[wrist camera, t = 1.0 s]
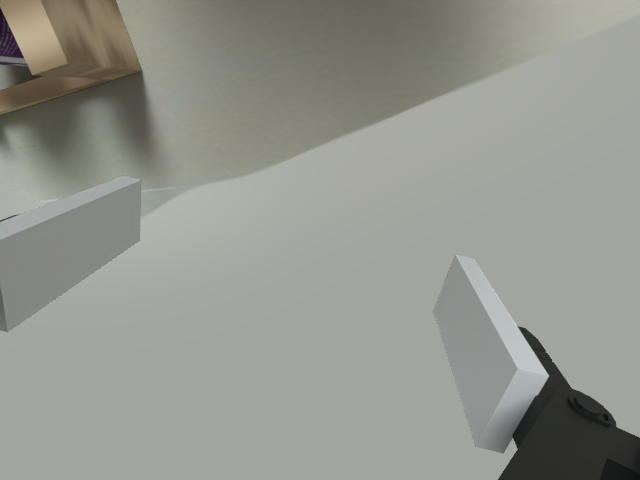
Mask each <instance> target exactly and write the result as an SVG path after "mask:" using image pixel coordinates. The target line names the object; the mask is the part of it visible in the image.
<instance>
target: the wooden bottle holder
mask: <svg viewBox="0 0 640 480" xmlns="http://www.w3.org/2000/svg"><path fill="white" fill-rule="evenodd" d="M0 8H1V10H2V12H3V14H4V16H5V18H6V20H7V22H8V25H9V27H10V29H11V31H12V33H13V35H14V37H15V39H16V42H17V44H18V46H19V48H20V50H21V52H22V54H23V56H24V59H25V61H26V63H27V65H28V67H29V69H30V71H31V74H32V75H39V76H42V77H39V78H36V79H33V80H30V81H27V82H24V83H21V84H18V85H15V86H12V87H9V88H6V89H3V90H0V115H2V114H5V113H8V112H11V111H15V110H18V109H21V108H24V107H27V106H31V105H34V104H37V103H40V102H43V101H47V100H50V99H53V98H56V97H59V96H63V95H66V94H69V93H72V92H76V91H79V90H82V89H85V88H88V87H92V86H95V85H98V84H101V83H104V82H108V81H111V80H114V79H117V78H120V77H124V76H127V75H130V74H133V73H136V72H140V71H142V70H141V67H140V64H139V62H138V59H137V56H136V54H135V51H134V48H133V46H132V43H131V40H130V38H129V35H128V32H127V30H126V27H125V25H124V22H123V19H122V17H121V14H120V11H119V9H118V6H117V3H116V1H115V0H0Z"/></svg>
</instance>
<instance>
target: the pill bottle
mask: <svg viewBox="0 0 640 480" xmlns="http://www.w3.org/2000/svg"><path fill="white" fill-rule="evenodd" d="M0 64H1V65H14V66H26V67H28V65H27V63H26V61H25V59H24V56H23V54H22V52H21V50H20V48H19V46H18V44H17V42H16V39H15V37H14V35H13V33H12V31H11V29H10V27H9V25H8V22H7V20H6V18H5V16H4V14H3V12H2V10H1V8H0Z"/></svg>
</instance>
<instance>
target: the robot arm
mask: <svg viewBox="0 0 640 480" xmlns="http://www.w3.org/2000/svg"><path fill="white" fill-rule="evenodd" d="M140 206H141V180H139V179H135V178H131V177H126V176H121V177H118V178H115V179H113V180H110V181H108V182H105V183H102V184H100V185H97V186H94V187H92V188H89V189H86V190H84V191H81V192H78V193H76V194H73V195H70V196H68V197H65V198H62V199H60V200H57V201H54V202H52V203H49V204H46V205H44V206H41V207H38V208H36V209H33V210H30V211H28V212H25V213H22V214H19V215H14V216H11V217H8V218H6V219H3V220H1V221H0V330H2V331H6V332H9V331H10V330H11V329H13V328H14V327H16V326H17V325H19V324H20V323H21V322H23V321H24V320H26V319H27V318H29V317H30V316H32V315H33V314H35V313H36V312H37V311H38V310H40V309H42V308H43V307H45V306H46V305H47V304H49V303H50V302H52V301H53V300H55V299H56V298H57V297H59V296H60V295H62V294H63V293H65V292H66V291H68V290H69V289H71V288H72V287H73V286H75V285H76V284H78V283H79V282H81V281H82V280H84V279H85V278H86V277H88V276H89V275H91V274H92V273H94V272H95V271H96V270H98V269H99V268H101V267H102V266H104V265H105V264H107V263H108V262H109V261H111V260H112V259H114V258H115V257H117V256H118V255H120V254H121V253H122V252H124V251H125V250H127V249H128V248H130V247H131V246H132V245H134V244H135V243H137V242H138V241H140ZM433 312H434V315H435V318H436V321H437V325H438V328H439V331H440V334H441V338H442V341H443V344H444V347H445V350H446V353H447V356H448V360H449V363H450V366H451V370H452V373H453V376H454V379H455V382H456V385H457V389H458V392H459V395H460V399H461V402H462V405H463V408H464V411H465V415H466V418H467V421H468V424H469V427H470V430H471V434H472V437H473V440H474V443H475V446H476V447H480V448H484V449H488V450H492V451H496V452H500V453H504V452H505V450H506V448H507V446H508V445H509V443H510V441H511V440H512V438H513V439H514V441H515V443H516V445H517V448H518V450H517V451H516V453H515V454H514V456H513V458H512V459H511V460H510V462H509V464H508V465H507V467H506V468H505V470H504V471H503V473H502V474H501V476H500V477H499V479H498V480H640V438H639V437H637V436H635V435H632V434H630V433H628V432H626V431H623V430H621V429H619V428H617V427H616V421H615V420H614V419H613V417H612V415H611V414H610V413H609V412H608V411H607V410H606V409H605V408H604V407H603V406H602V405H601V404H600V403H598V402H597V401H595V400H594V399H593V398H591V397H589V396H587V395H585V394H583V393H582V392H579V391H576V390H573V389H572V388H571V387H570V385H569V384H568V382H567V381H566V379H565V378H564V377H563V375H562V374H561V372H560V371H559V369H558V368H557V367H556V365H555V364H554V362H552V359H551V358H550V356H549V355H548V353H545V349H544V348H543V346H542V345H541V343H540V342H539V340H538V339H537V338H536V337H534V336H533V335H532V334H531V333H530V332H529V331H528V330H527V329H525V328H522V327H518V326H517V325H516V324H515V322H514V321H513V319H512V317H511V316H510V314H509V313H508V311H507V310H506V308H505V307H504V305H503V303H502V302H501V301H500V299H499V297H498V296H497V294H496V292H495V291H494V290H493V288H492V286H491V285H490V283H489V282H488V280H487V278H486V277H485V276H484V274H483V272H482V271H481V269H480V267H479V266H478V264H477V263H476V261H475V260H474V259H473V258H468V257H464V256H460V255H455V256H454V259H453V261H452V264H451V267H450V269H449V272H448V274H447V277H446V279H445V282H444V285H443V287H442V289H441V292H440V294H439V297H438V300H437V302H436V304H435V308H434V310H433Z"/></svg>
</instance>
